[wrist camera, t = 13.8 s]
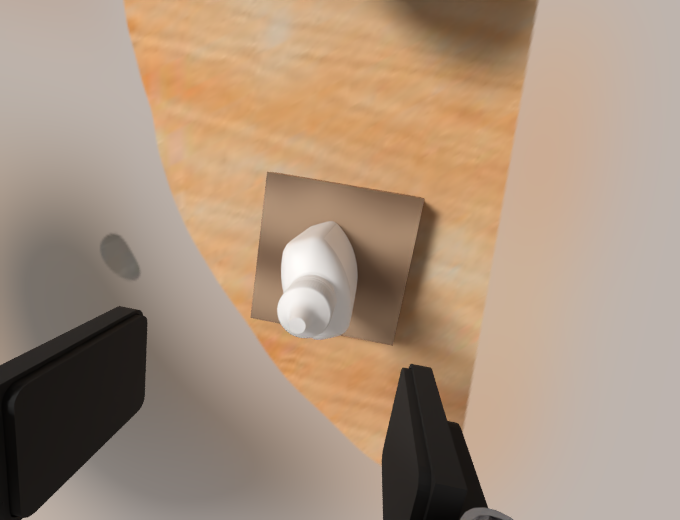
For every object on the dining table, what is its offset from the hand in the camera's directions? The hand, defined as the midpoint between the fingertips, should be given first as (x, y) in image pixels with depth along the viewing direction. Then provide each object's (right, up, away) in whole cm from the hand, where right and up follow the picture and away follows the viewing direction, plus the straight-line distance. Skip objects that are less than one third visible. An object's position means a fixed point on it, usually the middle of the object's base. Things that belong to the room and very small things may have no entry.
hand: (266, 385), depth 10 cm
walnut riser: (+2, +4, +18) cm, 19 cm away
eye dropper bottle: (+1, +4, +16) cm, 16 cm away
